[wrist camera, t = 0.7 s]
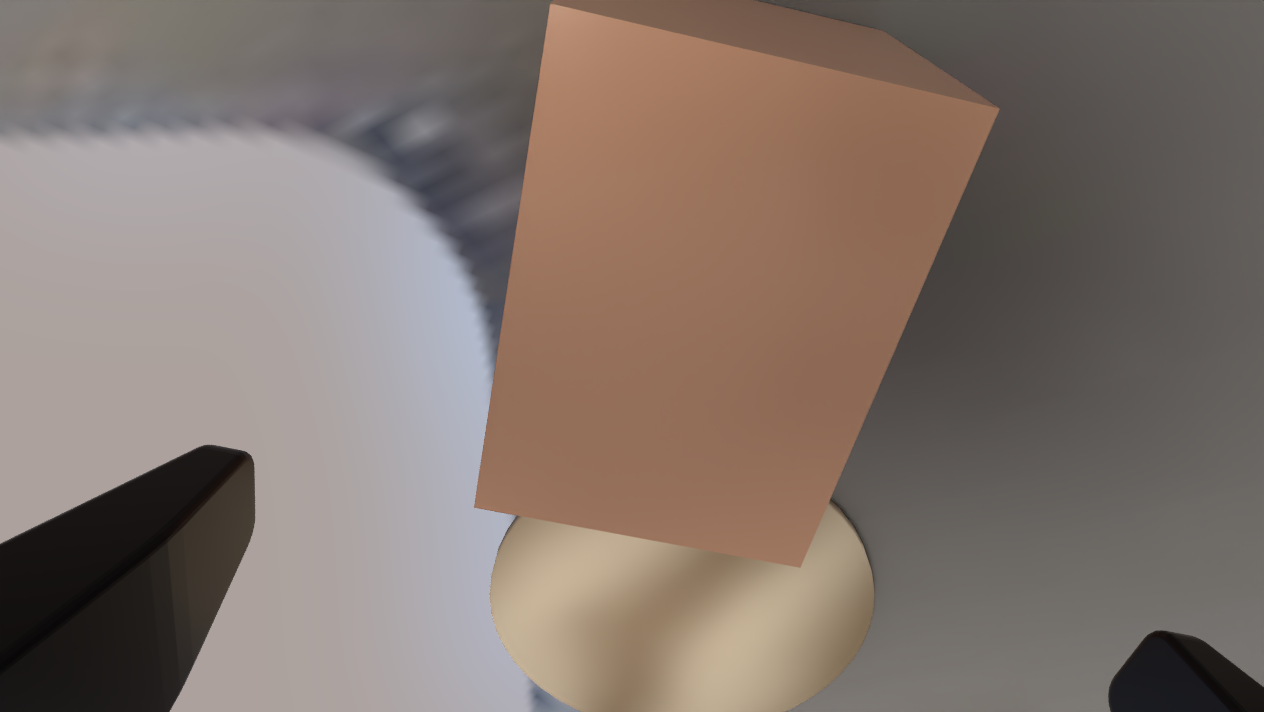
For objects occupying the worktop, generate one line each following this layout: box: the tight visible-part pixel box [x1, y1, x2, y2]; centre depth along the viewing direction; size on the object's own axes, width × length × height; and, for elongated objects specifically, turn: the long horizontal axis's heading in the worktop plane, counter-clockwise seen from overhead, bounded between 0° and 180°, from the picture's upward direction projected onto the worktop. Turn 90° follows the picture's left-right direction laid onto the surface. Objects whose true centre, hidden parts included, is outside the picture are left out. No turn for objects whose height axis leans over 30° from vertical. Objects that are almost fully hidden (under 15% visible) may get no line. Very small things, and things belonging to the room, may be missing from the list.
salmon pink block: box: [474, 0, 1000, 568], centre depth 16 cm, size 6×9×7 cm
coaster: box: [490, 500, 875, 712], centre depth 26 cm, size 12×12×1 cm
